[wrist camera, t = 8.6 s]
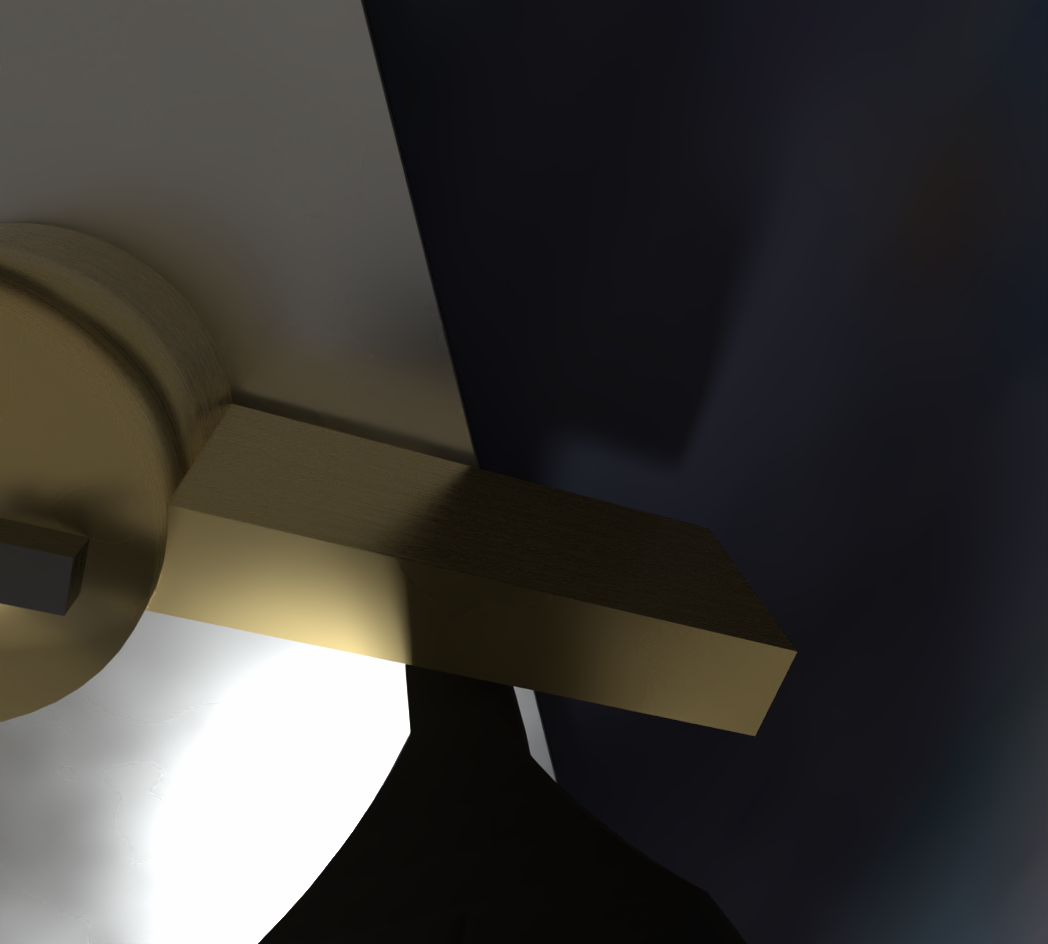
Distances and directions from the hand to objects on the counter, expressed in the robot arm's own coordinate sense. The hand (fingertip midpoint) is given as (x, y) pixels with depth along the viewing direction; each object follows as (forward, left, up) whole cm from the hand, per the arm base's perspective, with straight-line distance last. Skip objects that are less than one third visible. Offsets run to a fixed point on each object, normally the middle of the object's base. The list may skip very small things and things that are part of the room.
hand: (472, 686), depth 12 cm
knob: (+3, +1, -1) cm, 4 cm away
